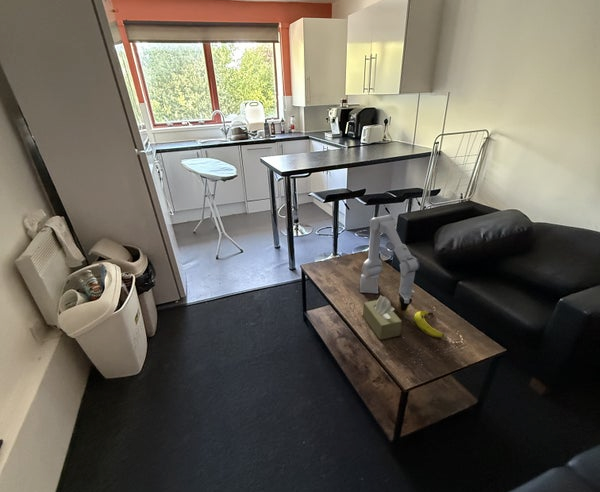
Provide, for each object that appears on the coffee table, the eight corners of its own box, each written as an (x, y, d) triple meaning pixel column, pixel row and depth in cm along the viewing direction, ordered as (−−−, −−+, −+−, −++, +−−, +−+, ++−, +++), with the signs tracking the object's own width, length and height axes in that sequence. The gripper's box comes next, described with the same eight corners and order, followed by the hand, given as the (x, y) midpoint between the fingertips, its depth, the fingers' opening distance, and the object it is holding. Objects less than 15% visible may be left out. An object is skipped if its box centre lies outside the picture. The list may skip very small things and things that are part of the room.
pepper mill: (397, 313, 151) (400, 298, 147) (397, 307, 155) (399, 293, 151) (407, 314, 150) (410, 299, 146) (406, 308, 154) (409, 293, 150)
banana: (436, 334, 135) (459, 327, 142) (407, 311, 148) (429, 306, 155) (433, 343, 137) (455, 335, 144) (404, 319, 150) (426, 313, 157)
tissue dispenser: (400, 336, 141) (405, 307, 133) (380, 340, 139) (383, 311, 131) (380, 311, 157) (383, 284, 149) (362, 315, 155) (364, 288, 147)
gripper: (418, 292, 138) (413, 317, 144) (413, 275, 150) (409, 299, 157) (401, 291, 139) (397, 315, 146) (398, 274, 151) (395, 298, 158)
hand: (402, 307), depth 151 cm, fingers closed on pepper mill, 4 cm apart
